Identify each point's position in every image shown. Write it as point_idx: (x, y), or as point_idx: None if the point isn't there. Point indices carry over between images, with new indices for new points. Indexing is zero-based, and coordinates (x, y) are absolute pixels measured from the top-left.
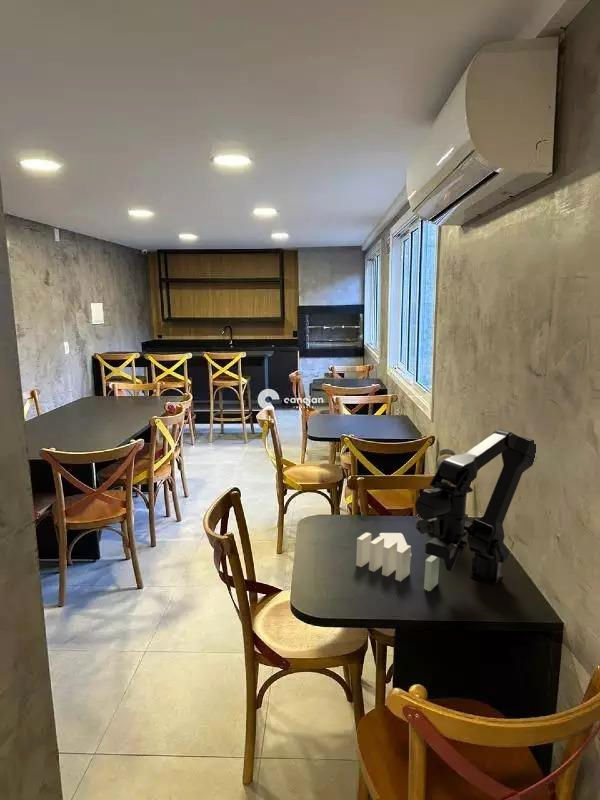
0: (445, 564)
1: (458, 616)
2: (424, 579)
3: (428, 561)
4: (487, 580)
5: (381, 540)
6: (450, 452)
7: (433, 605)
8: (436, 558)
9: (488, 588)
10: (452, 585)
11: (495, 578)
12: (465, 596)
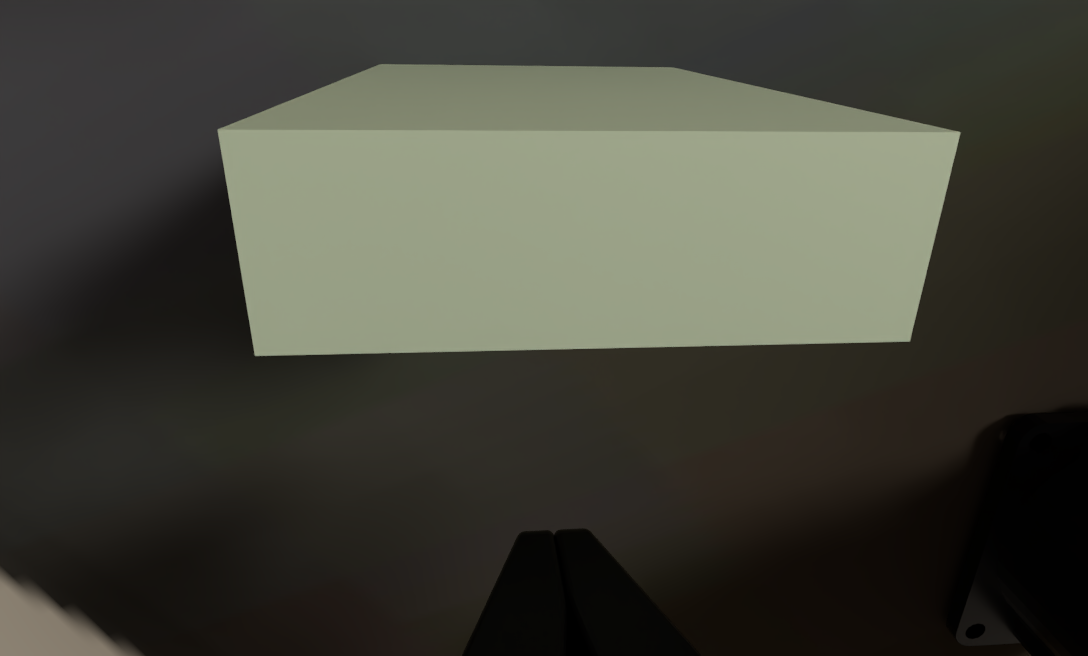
0: (478, 624)
1: (150, 599)
2: (352, 76)
3: (237, 246)
4: (985, 583)
5: None
6: None
7: (117, 337)
8: (653, 337)
9: (856, 606)
10: None
11: (1032, 649)
12: (569, 514)
